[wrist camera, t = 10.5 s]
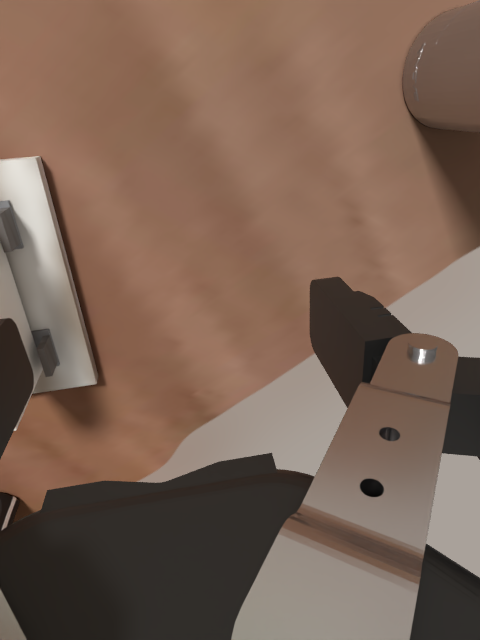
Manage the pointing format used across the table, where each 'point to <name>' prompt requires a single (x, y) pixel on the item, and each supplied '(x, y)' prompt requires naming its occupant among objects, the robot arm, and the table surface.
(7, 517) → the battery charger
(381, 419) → the robot arm
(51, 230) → the cabinet side
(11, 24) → the table surface
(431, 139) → the table surface
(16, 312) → the door
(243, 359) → the table surface
